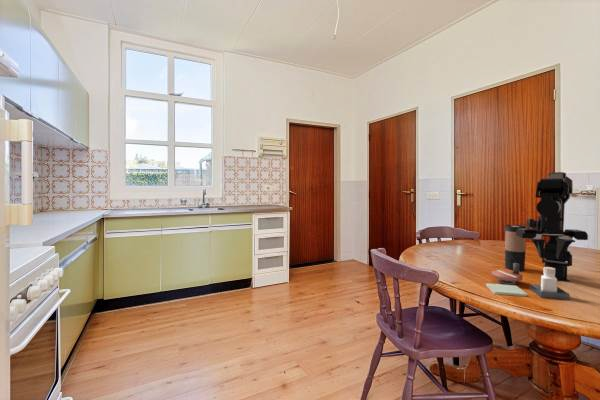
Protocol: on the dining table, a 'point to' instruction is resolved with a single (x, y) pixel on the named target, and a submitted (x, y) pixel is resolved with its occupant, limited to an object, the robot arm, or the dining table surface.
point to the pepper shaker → (549, 280)
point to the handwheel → (508, 274)
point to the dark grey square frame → (549, 292)
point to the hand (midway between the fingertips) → (549, 258)
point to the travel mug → (514, 248)
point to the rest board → (506, 289)
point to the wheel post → (506, 282)
